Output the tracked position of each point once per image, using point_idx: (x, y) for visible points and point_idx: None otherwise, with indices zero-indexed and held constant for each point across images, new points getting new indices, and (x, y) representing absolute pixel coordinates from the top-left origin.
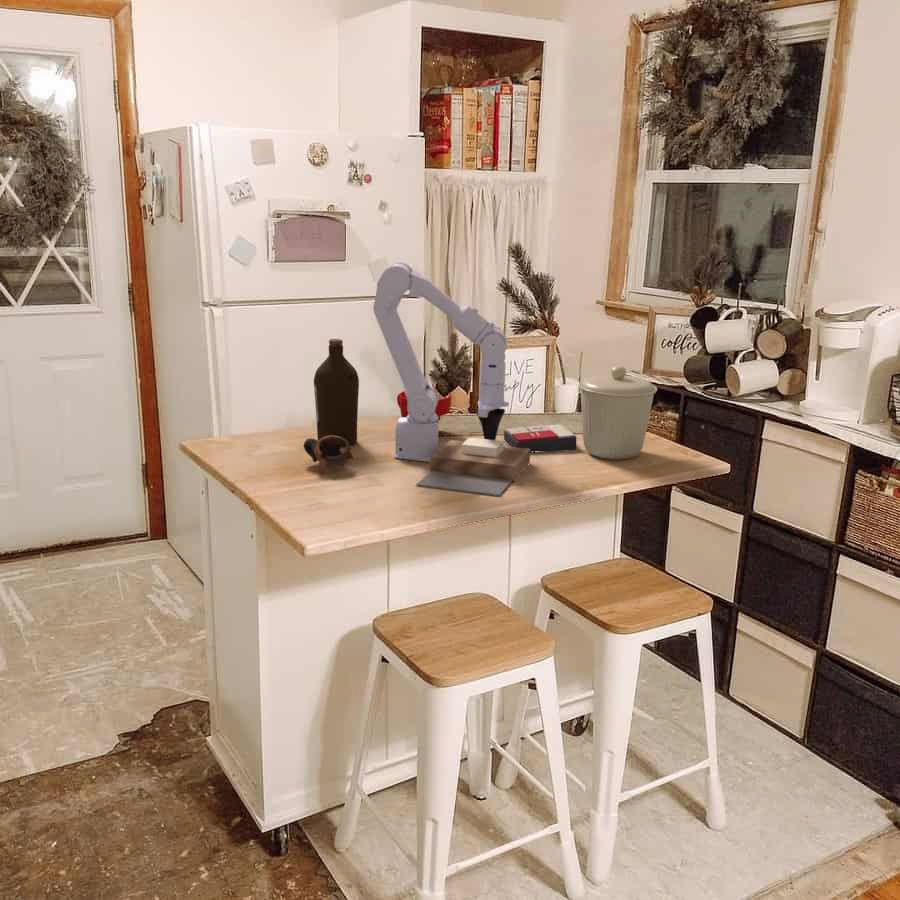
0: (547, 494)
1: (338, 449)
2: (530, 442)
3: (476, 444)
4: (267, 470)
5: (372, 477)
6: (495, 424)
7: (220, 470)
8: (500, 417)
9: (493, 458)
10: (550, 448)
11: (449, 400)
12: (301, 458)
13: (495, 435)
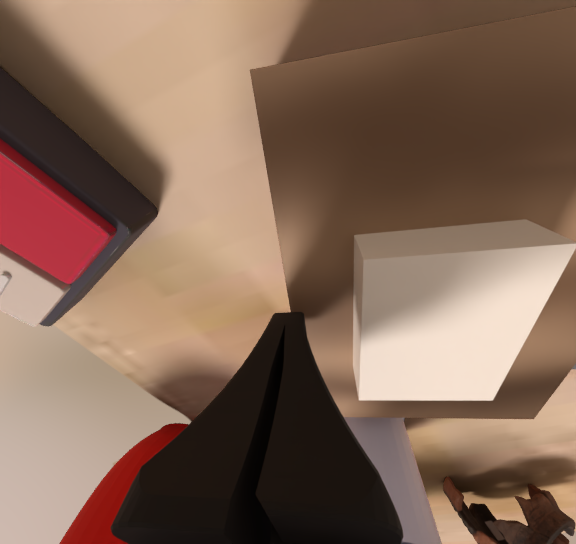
0: None
1: (466, 517)
2: (67, 172)
3: (483, 357)
4: (518, 518)
5: (560, 437)
6: (332, 403)
7: None
8: (252, 443)
9: (561, 223)
10: None
11: (104, 537)
12: (440, 507)
13: (292, 330)
